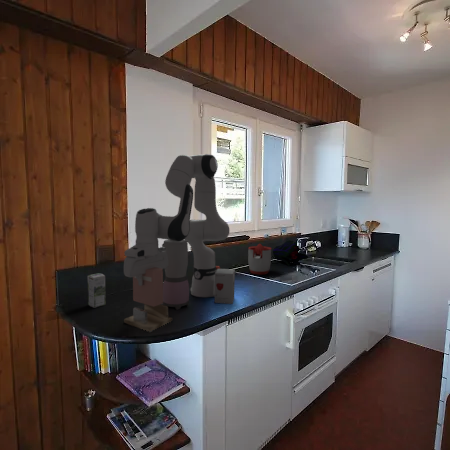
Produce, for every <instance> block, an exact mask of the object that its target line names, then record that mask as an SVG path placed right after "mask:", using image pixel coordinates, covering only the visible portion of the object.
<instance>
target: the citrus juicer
mask: <svg viewBox="0 0 450 450" xmlns="http://www.w3.org/2000/svg"><path fill="white" fill-rule="evenodd" d="M247 253H248V254H247V256H248V260H247V261H248V262H247V263H248V267H249V271H250V273H251V274H253V275H263V276H264V275H267V274H268V273H269V272H270V268H271V265H272V264H271V263H272V262H271V261H272V247H270V246H264V245H262V244H261V243H258V244H257V245H254V246H253V245H252V246H249V247H248V252H247Z"/></svg>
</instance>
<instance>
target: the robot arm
mask: <svg viewBox="0 0 450 450" xmlns="http://www.w3.org/2000/svg"><path fill="white" fill-rule="evenodd" d="M218 167H219V164H218V160H217V159H216V157H215V155H213V154H211V153H210V154H209V153H205V154H194V155H190V156H189V155H186V154H180V155H178V156H176V158H175V159H174V161H172V163H171V165H170V167H169V170H168V172H167V175H166V176H165V179H164V180H165V181H164V182H165V187H166V189H167V191H168V192H169V193H170V194H171V195H173V196H175V197H177V198H179V199H180V201H179V205H178V210H177V214H176V215H174V216H173V215H172V216H171V215H168V216H167V215H162V214H160V213H158V212H157V209H156V208H154V207H150V208H149V207H148V208H141V209H139V210H138V211H137V212H136V214H135V222H134V223H135V224H134V225H135V227H134V232H135V236H136V238H135V244H134V245H132V246H131V247H130V248H128V249H126V250H124V256H125V258H124V261H123V275H124V276H125V277H128V278H133V277H135V276H136V278H137V280H138V284H139V285H140V286H142V285H144V281H143V280H142V279H141V277H142V274H145V273H146V269H150V268H154V267H157V268H162V269H163V270H165V268H167V267H168V257H167V250H166V248H164V247H162V246H159V239H161V240H174V241H182V240H187V243H188V244H189V246H190V248H191V250H192V253H193V268H192V273H193V275H192V277H191V278H192V280H191V287H189V291H190V294H191V295H192V296H194V297H197V298H211V297H214V298H215V272H216V271H217V269H221V267H220V265H216V252H215V251H214V249H212V248H211V247H209V246H207V245H205V243H204V242H205V241H206V242H210V241H211V242H219V241H223V240H224V241H225V240H226V239H227V238H228V237H229V235H230V231H231V230H230V226H229V224H228V223H227V222H226V220H224V219H223V218H222V217H221V216H220V214H219V212H218V209H217V199H216V194H217V191H216V189H217V188H216V180H215V175H216V174H217V172H218ZM193 179H195V181H194V183H195V184H194V189H193V187H192V186H191V183H192V181H193ZM193 201H194V202H193ZM193 204H194V208H195V210H196V211H197V212H198V213H201V214H203V215H204V216H205V219H191V215H192V208H193Z"/></svg>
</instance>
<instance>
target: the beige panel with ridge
mask: <svg viewBox="0 0 450 450" xmlns="http://www.w3.org/2000/svg"><path fill="white" fill-rule="evenodd" d="M143 305H144V307H143V310H145V311H147V318H148V324H146V325H145V324H142V323H139V322H137V321H134V320H133V315H131V316H129V317H126V318H124V319H123V321H124V322H123V323H125V324H127V325H129V326H131V327H135V328H137V329H140V330H142V329H143V331H145V330H146V331H145V332H148V331H149V332H148V333H151V332H153V331H152V330H154V331H156V330H157V328H158V329H160V328H162V327H164V326H166V325H167V323H168V324H170V323H172V322H173V317H170V316H169V306H165V305H163V304H159V305H157V306H154V307H153V306H150V305H146V304H143ZM171 321H172V322H171ZM169 322H170V323H169ZM165 324H166V325H165ZM163 325H164V326H163ZM161 326H162V327H161ZM159 327H160V328H159ZM155 329H156V330H155ZM150 331H151V332H150Z"/></svg>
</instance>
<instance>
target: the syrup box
mask: <svg viewBox="0 0 450 450" xmlns="http://www.w3.org/2000/svg"><path fill="white" fill-rule="evenodd" d="M106 299H107V298H106V275H105V274H103V273H94V274H89V275H87V300H88V301H87V304H88V306H89V307H91V308H95V309H96V308H99V307H102V306H105V305H106V301H107V300H106Z"/></svg>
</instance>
